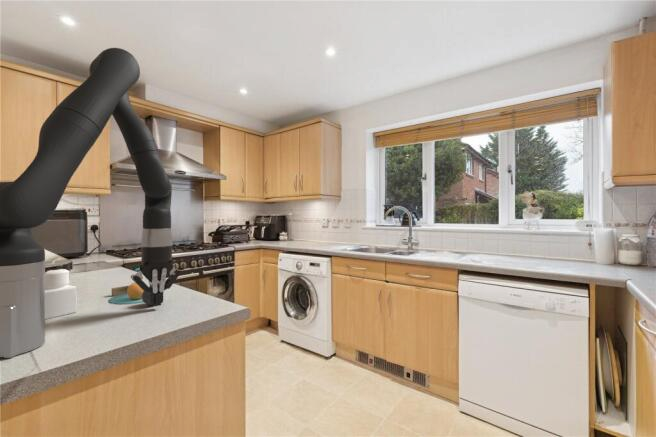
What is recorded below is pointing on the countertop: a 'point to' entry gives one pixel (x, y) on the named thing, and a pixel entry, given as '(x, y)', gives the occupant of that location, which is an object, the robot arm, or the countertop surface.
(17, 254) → the robot arm
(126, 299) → the teal mark
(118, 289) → the walnut stopper strip
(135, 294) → the orange ball
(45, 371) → the countertop surface
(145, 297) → the black ball
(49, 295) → the medicine bottle
